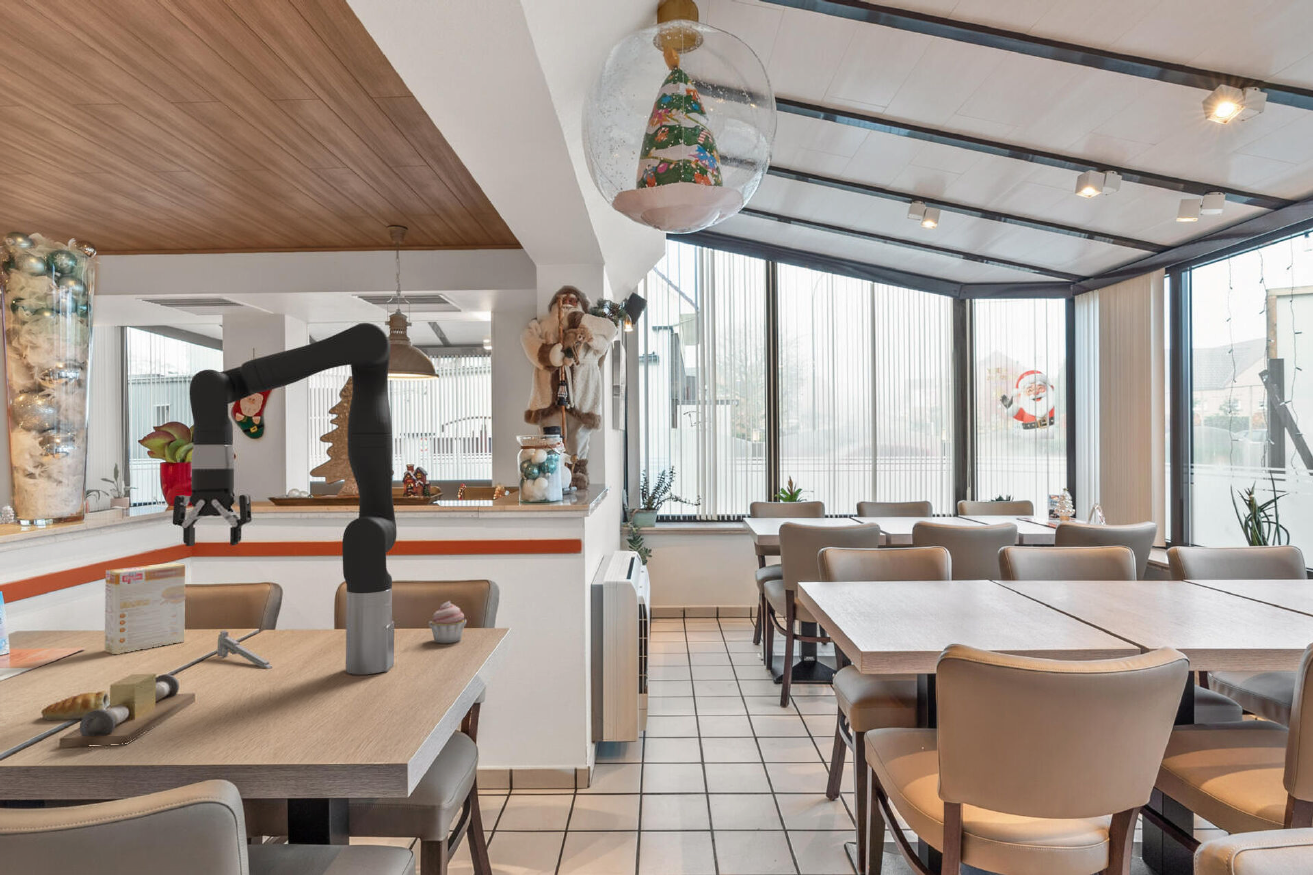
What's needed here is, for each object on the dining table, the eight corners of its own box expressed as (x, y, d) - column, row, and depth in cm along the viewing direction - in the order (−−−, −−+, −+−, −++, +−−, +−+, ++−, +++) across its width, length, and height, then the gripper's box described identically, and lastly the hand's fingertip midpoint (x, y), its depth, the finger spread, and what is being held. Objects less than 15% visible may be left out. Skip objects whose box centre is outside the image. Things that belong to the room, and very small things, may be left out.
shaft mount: (194, 701, 137) (195, 672, 137) (127, 744, 116) (127, 710, 116) (138, 703, 136) (138, 674, 136) (59, 747, 115) (60, 713, 115)
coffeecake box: (173, 638, 185) (174, 561, 186) (185, 642, 181) (186, 564, 182) (103, 651, 173) (104, 569, 174) (114, 655, 169) (115, 571, 170)
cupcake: (461, 645, 177) (461, 604, 177) (423, 645, 177) (423, 604, 177) (471, 636, 186) (471, 597, 187) (435, 636, 186) (435, 597, 187)
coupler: (155, 707, 129) (155, 673, 129) (134, 719, 123) (135, 683, 123) (131, 708, 129) (131, 674, 129) (109, 720, 123) (110, 684, 123)
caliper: (216, 657, 168) (217, 630, 169) (221, 656, 169) (222, 629, 170) (267, 670, 158) (268, 641, 158) (272, 668, 159) (273, 640, 159)
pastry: (36, 726, 125) (37, 703, 125) (47, 714, 131) (47, 693, 131) (104, 716, 129) (104, 695, 130) (111, 705, 135) (111, 685, 136)
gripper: (257, 466, 155) (256, 542, 154) (185, 467, 153) (184, 544, 152) (241, 466, 147) (240, 546, 147) (166, 467, 145) (165, 548, 145)
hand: (212, 545), depth 150 cm, fingers open, 8 cm apart
